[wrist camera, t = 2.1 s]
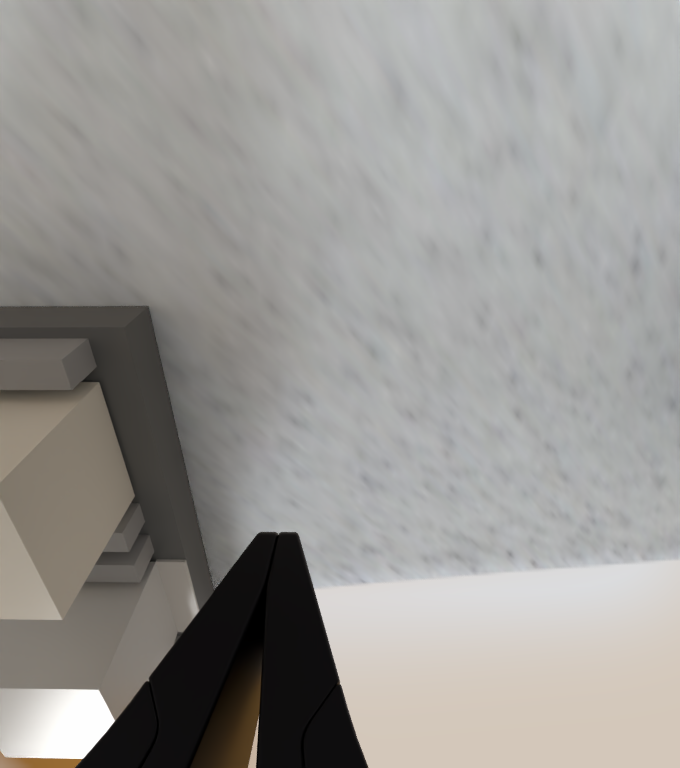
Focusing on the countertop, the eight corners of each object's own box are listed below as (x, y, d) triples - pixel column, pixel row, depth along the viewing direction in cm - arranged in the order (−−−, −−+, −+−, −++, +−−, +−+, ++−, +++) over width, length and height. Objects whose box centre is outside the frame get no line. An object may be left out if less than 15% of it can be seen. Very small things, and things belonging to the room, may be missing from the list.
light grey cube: (155, 561, 15) (98, 689, 12) (178, 631, 17) (134, 759, 14) (39, 560, 15) (-52, 687, 12) (74, 630, 17) (5, 757, 14)
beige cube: (99, 382, 12) (-6, 488, 8) (135, 495, 14) (62, 619, 10) (-51, 382, 12) (-217, 487, 8) (6, 495, 14) (-109, 618, 10)
